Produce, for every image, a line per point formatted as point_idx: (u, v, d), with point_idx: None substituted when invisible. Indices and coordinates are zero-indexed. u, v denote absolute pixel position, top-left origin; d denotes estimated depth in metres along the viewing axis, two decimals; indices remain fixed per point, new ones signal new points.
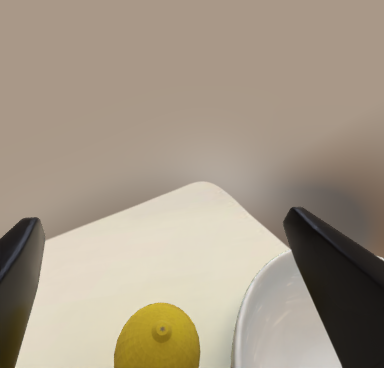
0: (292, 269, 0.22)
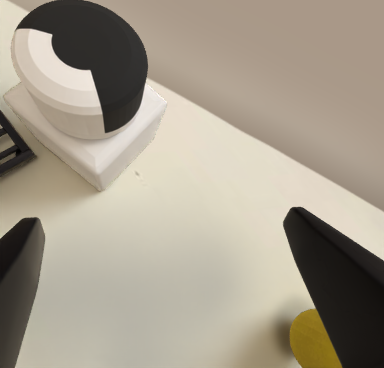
0: None
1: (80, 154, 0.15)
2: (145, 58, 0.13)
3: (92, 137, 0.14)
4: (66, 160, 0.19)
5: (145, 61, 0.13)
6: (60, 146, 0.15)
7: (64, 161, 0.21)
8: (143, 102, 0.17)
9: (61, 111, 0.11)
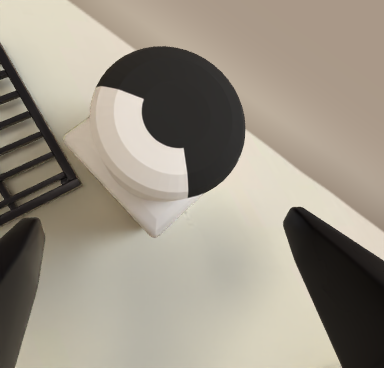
0: None
1: (141, 214, 0.13)
2: (244, 127, 0.10)
3: (159, 201, 0.12)
4: None
5: (244, 131, 0.10)
6: (119, 201, 0.13)
7: None
8: None
9: (139, 192, 0.09)
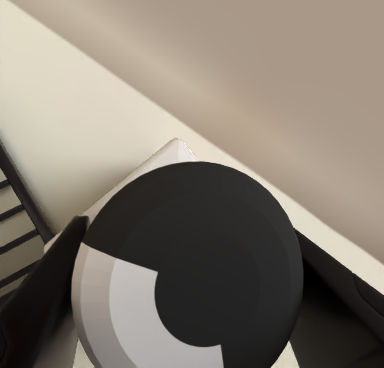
0: None
1: None
2: None
3: None
4: None
5: None
6: None
7: None
8: None
9: None
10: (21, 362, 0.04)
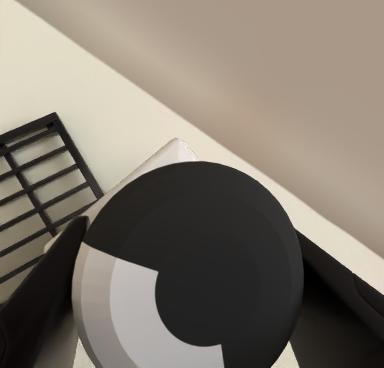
0: None
1: None
2: (303, 276, 0.07)
3: None
4: None
5: None
6: None
7: None
8: None
9: None
10: (21, 362, 0.04)
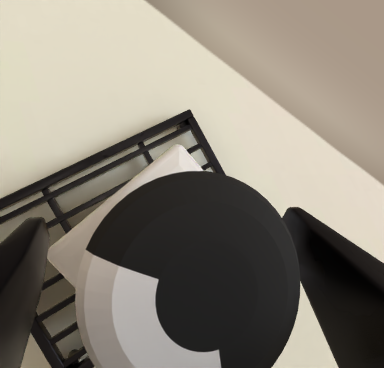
0: None
1: None
2: None
3: None
4: None
5: (299, 289, 0.07)
6: None
7: None
8: None
9: None
10: None
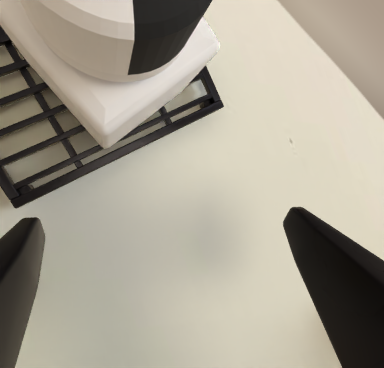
0: None
1: (85, 100, 0.10)
2: None
3: (106, 77, 0.09)
4: (63, 100, 0.14)
5: None
6: (55, 80, 0.10)
7: (60, 99, 0.15)
8: None
9: (59, 18, 0.06)
10: None
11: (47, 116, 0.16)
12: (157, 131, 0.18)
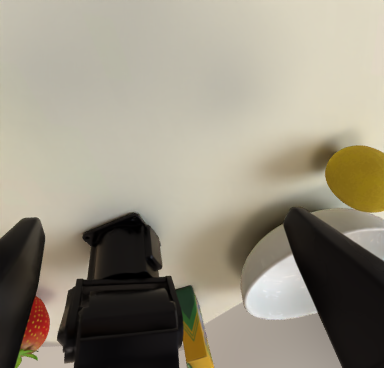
0: None
1: None
2: None
3: None
4: None
5: None
6: None
7: None
8: None
9: None
10: None
11: None
12: None
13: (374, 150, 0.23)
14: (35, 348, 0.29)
